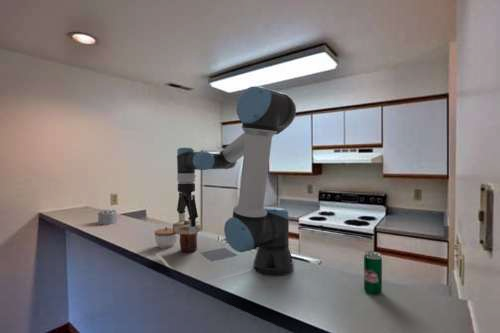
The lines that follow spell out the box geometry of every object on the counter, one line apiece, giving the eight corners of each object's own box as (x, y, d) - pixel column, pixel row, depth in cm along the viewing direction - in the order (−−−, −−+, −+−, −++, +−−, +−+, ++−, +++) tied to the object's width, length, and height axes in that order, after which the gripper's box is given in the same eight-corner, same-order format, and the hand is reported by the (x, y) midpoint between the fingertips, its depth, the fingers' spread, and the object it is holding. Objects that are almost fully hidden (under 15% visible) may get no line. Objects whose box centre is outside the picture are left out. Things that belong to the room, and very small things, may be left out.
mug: (184, 248, 126) (183, 226, 126) (201, 249, 124) (201, 227, 124) (171, 257, 114) (171, 233, 114) (190, 259, 112) (190, 234, 112)
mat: (237, 257, 113) (237, 255, 113) (211, 263, 107) (211, 261, 107) (224, 249, 124) (224, 247, 123) (200, 254, 117) (200, 252, 117)
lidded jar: (169, 251, 122) (169, 230, 122) (149, 249, 126) (149, 229, 126) (182, 244, 132) (182, 225, 132) (164, 242, 136) (164, 224, 136)
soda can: (361, 291, 83) (361, 253, 83) (367, 286, 86) (367, 249, 86) (378, 297, 79) (378, 257, 79) (384, 291, 83) (384, 253, 83)
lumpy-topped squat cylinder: (113, 220, 189) (113, 208, 188) (119, 223, 179) (119, 210, 179) (96, 222, 181) (96, 210, 181) (102, 226, 172) (102, 212, 172)
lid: (204, 231, 117) (204, 222, 117) (177, 235, 111) (177, 225, 111) (195, 226, 127) (195, 217, 127) (169, 229, 121) (169, 220, 121)
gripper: (205, 184, 110) (206, 235, 110) (185, 180, 131) (185, 224, 131) (187, 185, 106) (188, 238, 106) (169, 181, 127) (170, 226, 127)
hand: (187, 230), depth 119 cm, fingers open, 13 cm apart
